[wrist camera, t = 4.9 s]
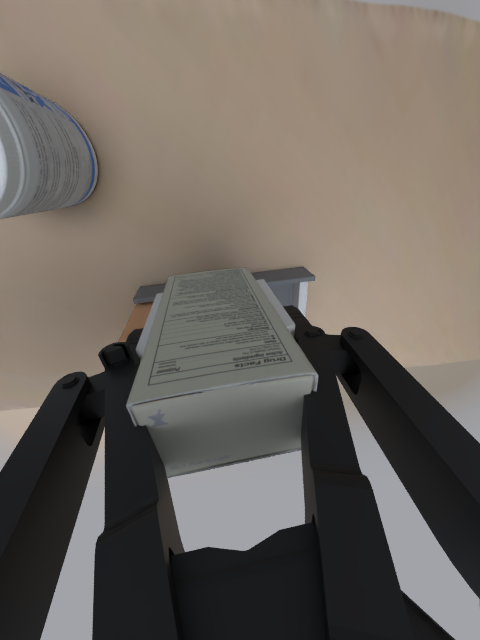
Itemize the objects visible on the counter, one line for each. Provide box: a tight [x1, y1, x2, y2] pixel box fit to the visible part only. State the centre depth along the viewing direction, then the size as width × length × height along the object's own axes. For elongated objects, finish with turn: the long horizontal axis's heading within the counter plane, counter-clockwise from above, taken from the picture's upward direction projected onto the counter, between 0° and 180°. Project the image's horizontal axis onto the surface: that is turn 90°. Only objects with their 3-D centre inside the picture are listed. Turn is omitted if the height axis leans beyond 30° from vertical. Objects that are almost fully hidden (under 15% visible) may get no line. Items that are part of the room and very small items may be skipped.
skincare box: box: [126, 268, 318, 478], centre depth 13 cm, size 6×4×12 cm
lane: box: [133, 267, 315, 317], centre depth 35 cm, size 24×11×4 cm, turn 94°
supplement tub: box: [0, 73, 98, 219], centre depth 19 cm, size 10×10×15 cm
